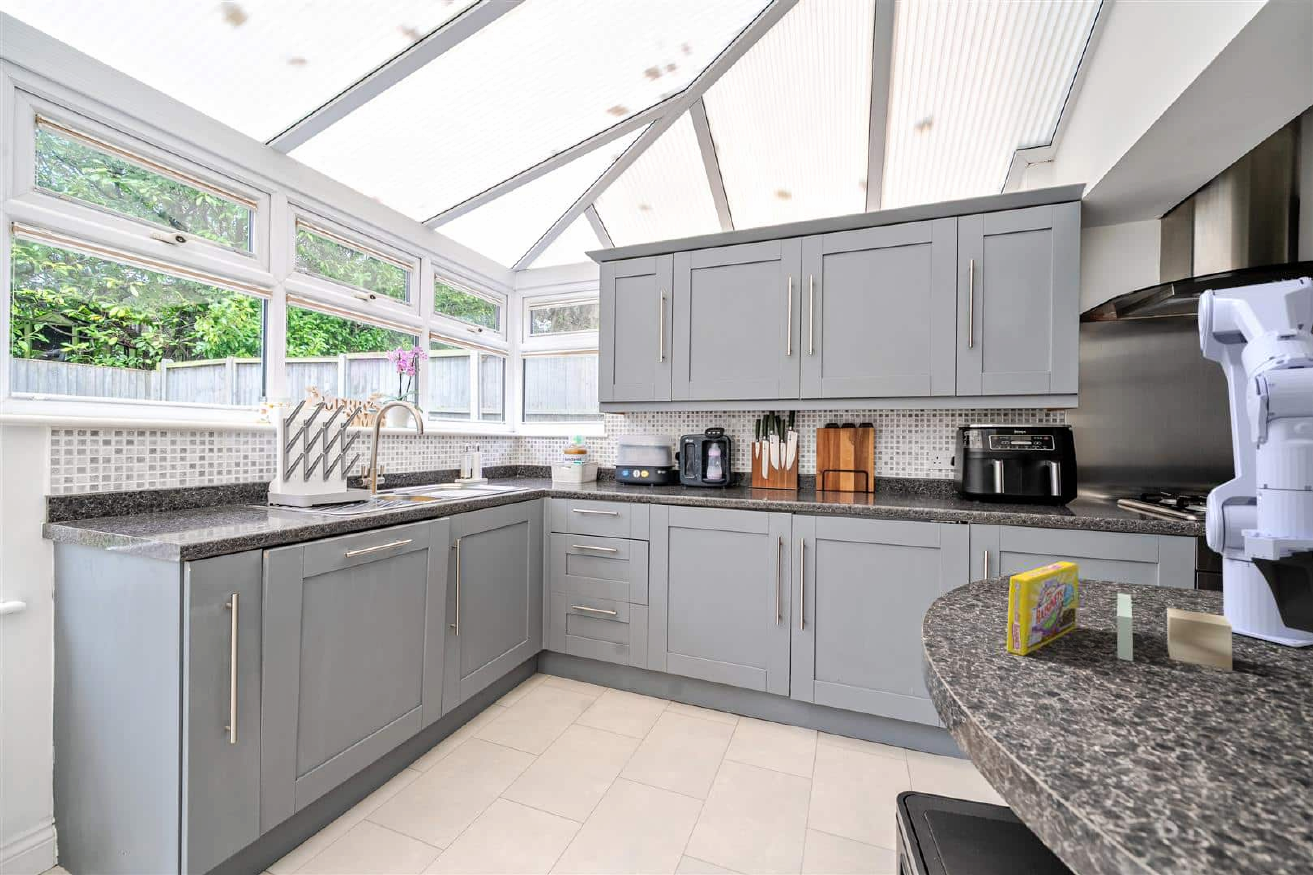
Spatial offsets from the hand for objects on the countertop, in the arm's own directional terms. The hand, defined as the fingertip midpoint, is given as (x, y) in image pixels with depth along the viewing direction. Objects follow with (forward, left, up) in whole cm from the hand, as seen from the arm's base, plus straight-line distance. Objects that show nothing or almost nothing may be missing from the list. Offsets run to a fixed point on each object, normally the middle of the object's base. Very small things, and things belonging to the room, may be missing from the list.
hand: (1303, 629), depth 52 cm
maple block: (+3, -6, -5) cm, 9 cm away
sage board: (+6, -11, -5) cm, 14 cm away
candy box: (+13, -15, -5) cm, 21 cm away
